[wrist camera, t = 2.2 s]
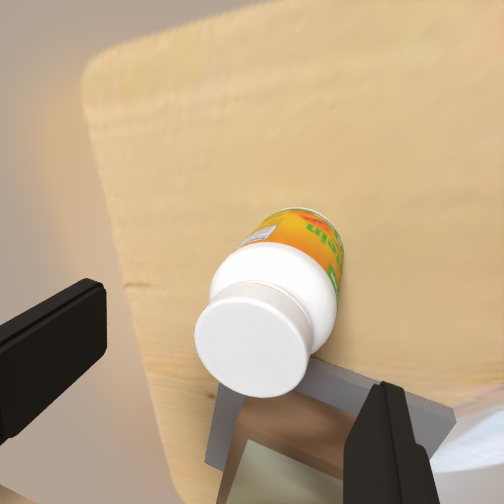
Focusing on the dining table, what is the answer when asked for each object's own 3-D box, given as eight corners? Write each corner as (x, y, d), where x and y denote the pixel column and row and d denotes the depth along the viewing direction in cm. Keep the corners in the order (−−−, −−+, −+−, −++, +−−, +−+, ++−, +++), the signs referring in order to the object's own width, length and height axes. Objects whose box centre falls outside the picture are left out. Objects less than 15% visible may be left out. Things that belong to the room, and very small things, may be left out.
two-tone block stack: (397, 431, 20) (419, 596, 13) (349, 511, 24) (346, 668, 17) (255, 374, 22) (207, 491, 15) (233, 457, 26) (188, 578, 19)
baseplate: (452, 408, 19) (456, 422, 19) (370, 527, 26) (370, 541, 25) (233, 328, 22) (228, 336, 22) (209, 452, 29) (204, 462, 28)
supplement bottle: (361, 266, 18) (364, 395, 9) (284, 300, 20) (231, 427, 12) (313, 187, 17) (269, 249, 8) (240, 232, 19) (147, 315, 11)
